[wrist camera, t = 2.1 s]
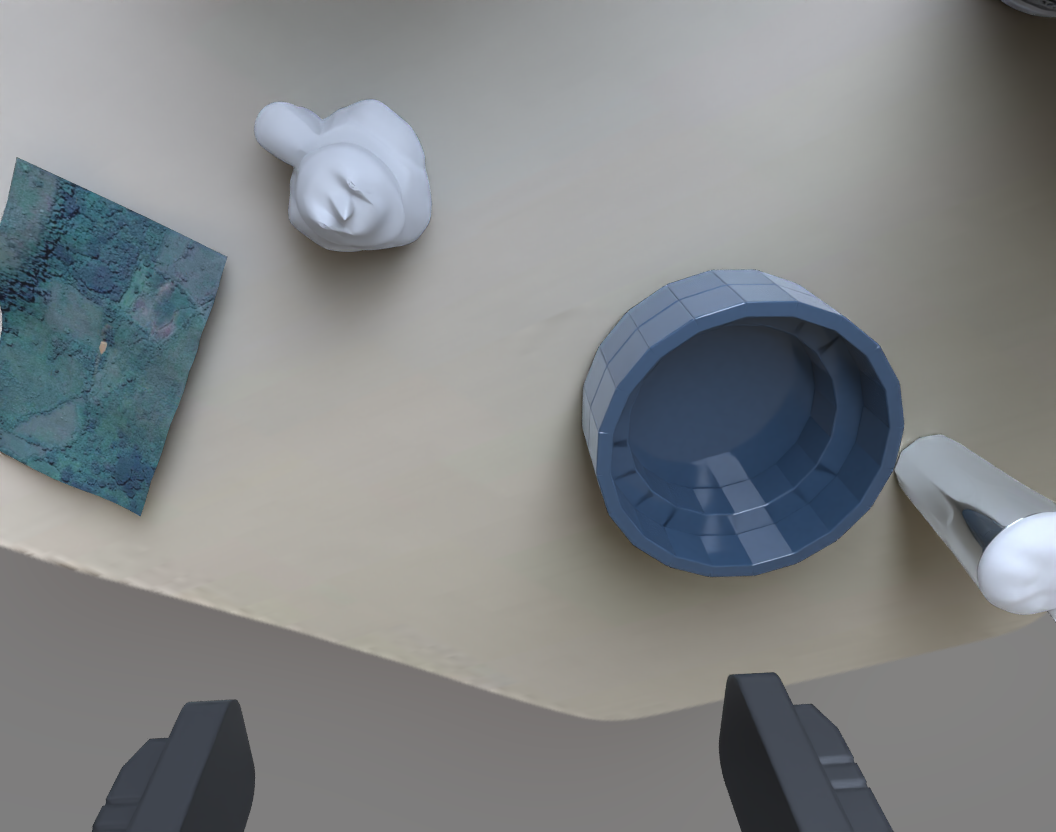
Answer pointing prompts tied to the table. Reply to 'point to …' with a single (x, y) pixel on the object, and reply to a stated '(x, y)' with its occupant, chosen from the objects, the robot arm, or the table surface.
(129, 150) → the table surface
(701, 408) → the bowl
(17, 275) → the terrain model
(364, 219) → the rubber duck
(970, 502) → the milkshake
